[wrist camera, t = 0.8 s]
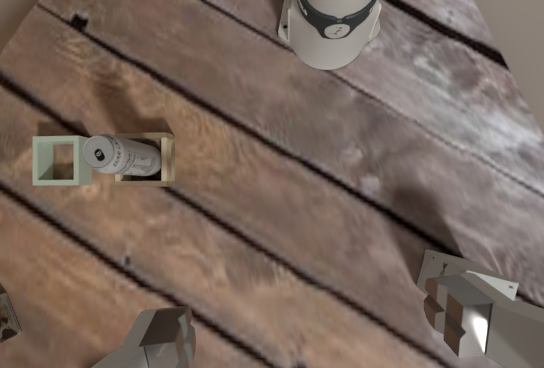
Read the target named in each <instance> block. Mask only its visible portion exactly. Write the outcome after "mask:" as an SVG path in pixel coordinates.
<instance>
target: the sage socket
mask: <svg viewBox="0 0 544 368" xmlns="http://www.w3.org/2000/svg"><path fill="white" fill-rule="evenodd" d="M88 139H89V138H87V137H82V136H33V185H92V167H90V166H88V165H87V164H86V163H85V161H84V159H83V157H82V148H83V145H84V143H85V142H86V141H87V140H88ZM53 144H74V180H53Z"/></svg>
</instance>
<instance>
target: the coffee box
mask: <svg viewBox="0 0 544 368" xmlns="http://www.w3.org/2000/svg"><path fill="white" fill-rule="evenodd" d="M19 333H21V329H20V326H19V324H18V321H17V319H16V316H15V313H14V311H13V308H12V306H11V303H10V300H9V298H8V295H7V293H3V294H0V343H2V342H4V341H6V340H8V339H9V338H11V337H13V336H15V335H17V334H19Z"/></svg>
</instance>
